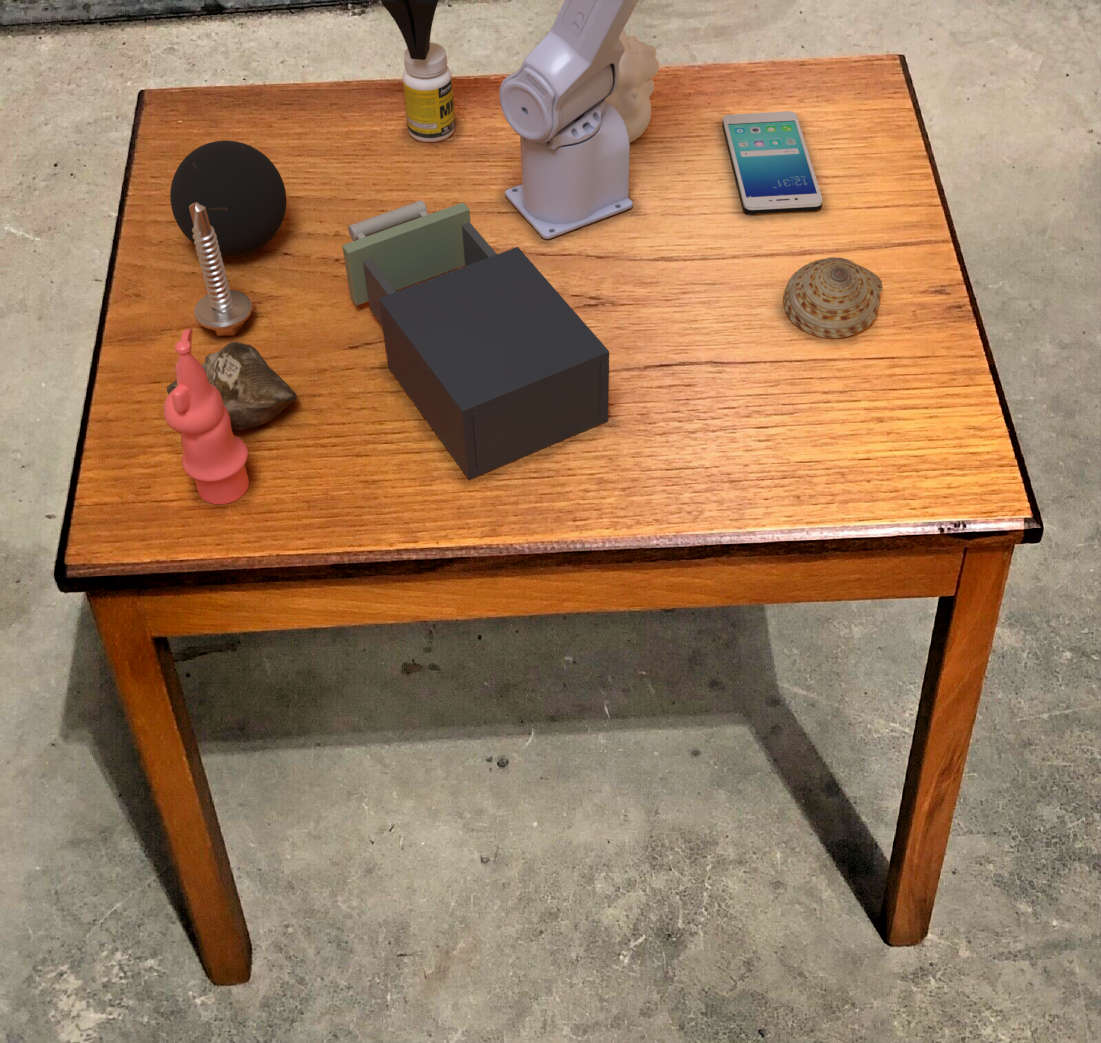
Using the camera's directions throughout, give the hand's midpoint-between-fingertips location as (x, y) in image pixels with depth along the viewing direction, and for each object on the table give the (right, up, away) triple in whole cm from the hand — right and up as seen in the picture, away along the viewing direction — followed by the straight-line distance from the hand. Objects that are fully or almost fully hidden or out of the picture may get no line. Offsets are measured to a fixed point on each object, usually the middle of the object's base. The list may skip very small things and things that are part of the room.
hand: (420, 53), depth 133 cm
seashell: (+36, -25, -9) cm, 45 cm away
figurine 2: (+19, -6, +7) cm, 21 cm away
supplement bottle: (0, -5, +8) cm, 10 cm away
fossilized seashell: (-13, -35, -16) cm, 40 cm away
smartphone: (+33, -10, +3) cm, 35 cm away
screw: (-16, -27, -10) cm, 33 cm away
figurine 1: (-13, -41, -22) cm, 48 cm away
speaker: (-16, -18, -3) cm, 25 cm away
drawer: (+2, -25, -10) cm, 27 cm away
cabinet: (+8, -33, -16) cm, 37 cm away
